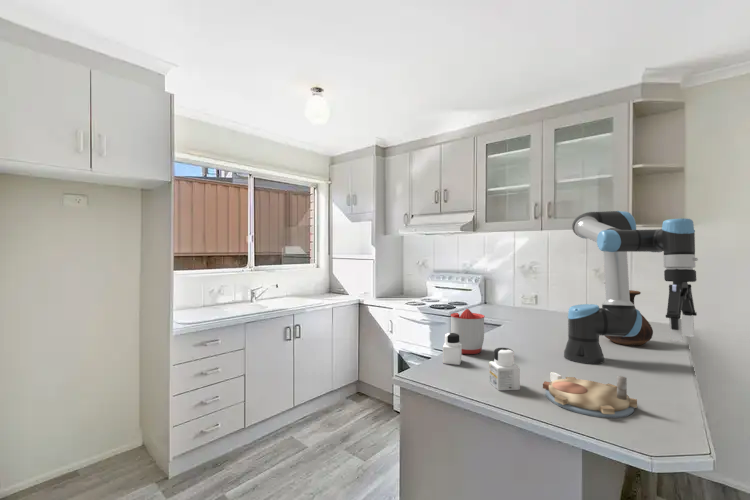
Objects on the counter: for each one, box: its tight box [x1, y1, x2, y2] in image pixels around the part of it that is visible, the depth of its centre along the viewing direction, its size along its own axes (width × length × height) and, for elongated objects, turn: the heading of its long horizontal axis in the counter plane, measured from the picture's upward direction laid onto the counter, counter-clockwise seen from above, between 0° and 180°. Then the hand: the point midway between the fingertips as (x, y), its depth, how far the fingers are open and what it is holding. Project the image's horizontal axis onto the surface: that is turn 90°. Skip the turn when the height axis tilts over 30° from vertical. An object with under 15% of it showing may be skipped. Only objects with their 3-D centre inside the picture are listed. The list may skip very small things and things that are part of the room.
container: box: [488, 347, 521, 391], centre depth 125 cm, size 8×8×13 cm
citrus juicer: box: [450, 308, 485, 355], centre depth 170 cm, size 16×17×20 cm
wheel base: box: [545, 371, 635, 419], centre depth 116 cm, size 29×24×3 cm
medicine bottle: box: [442, 332, 463, 366], centre depth 153 cm, size 7×7×12 cm
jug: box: [604, 289, 654, 346], centre depth 184 cm, size 22×22×30 cm
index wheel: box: [542, 375, 638, 414], centre depth 114 cm, size 25×24×8 cm
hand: (682, 338), depth 110 cm, fingers open, 13 cm apart
